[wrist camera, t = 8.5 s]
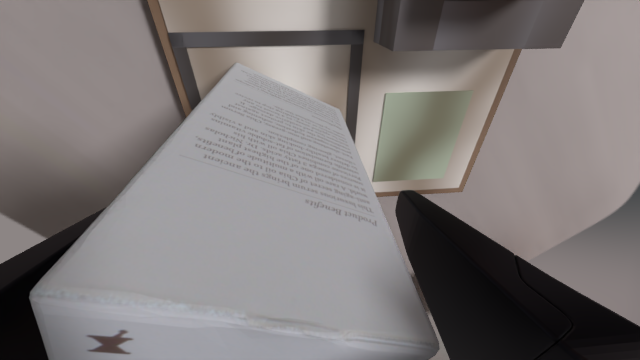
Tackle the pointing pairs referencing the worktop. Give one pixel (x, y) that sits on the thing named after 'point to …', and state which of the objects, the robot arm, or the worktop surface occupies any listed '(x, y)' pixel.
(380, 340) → the skincare box
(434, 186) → the square tray
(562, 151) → the worktop surface
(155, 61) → the worktop surface
